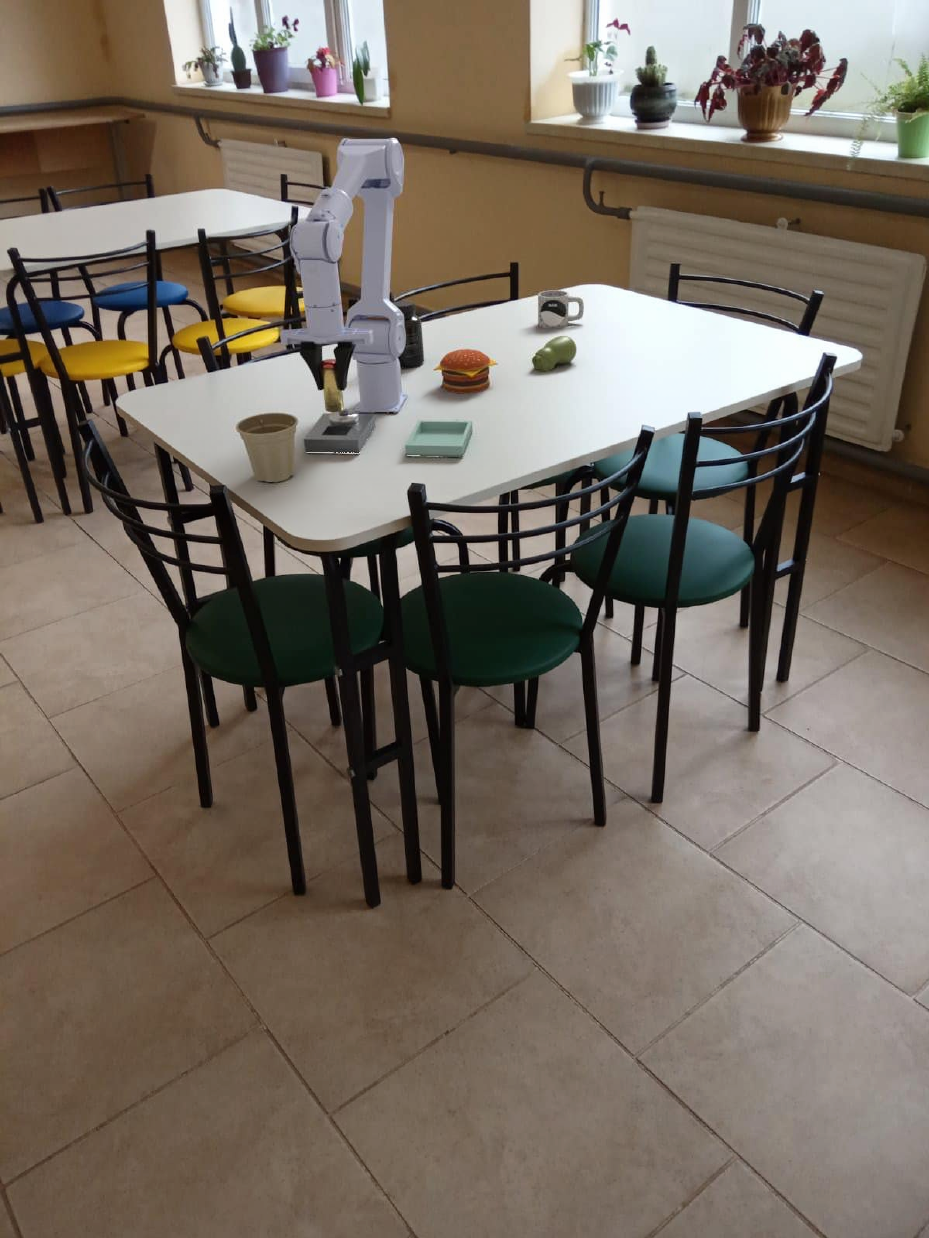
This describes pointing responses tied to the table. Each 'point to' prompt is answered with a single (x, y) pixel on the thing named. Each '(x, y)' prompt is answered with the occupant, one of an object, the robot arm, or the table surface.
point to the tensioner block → (340, 432)
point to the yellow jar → (331, 386)
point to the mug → (556, 308)
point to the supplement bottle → (411, 336)
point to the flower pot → (270, 445)
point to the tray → (439, 438)
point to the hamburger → (465, 371)
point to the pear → (554, 353)
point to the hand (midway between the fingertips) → (332, 388)
